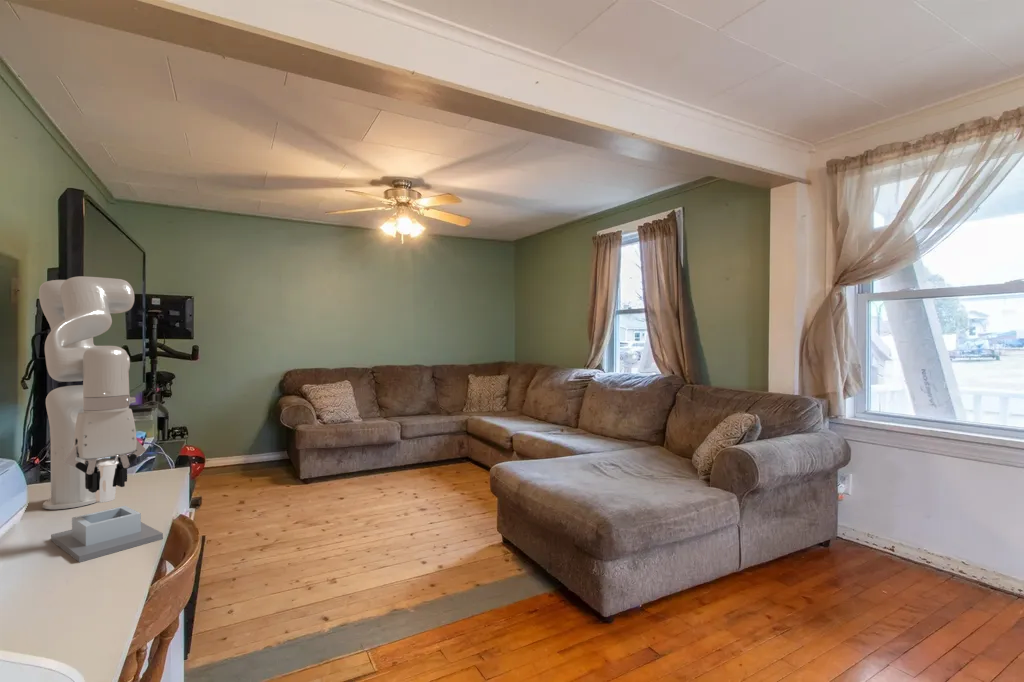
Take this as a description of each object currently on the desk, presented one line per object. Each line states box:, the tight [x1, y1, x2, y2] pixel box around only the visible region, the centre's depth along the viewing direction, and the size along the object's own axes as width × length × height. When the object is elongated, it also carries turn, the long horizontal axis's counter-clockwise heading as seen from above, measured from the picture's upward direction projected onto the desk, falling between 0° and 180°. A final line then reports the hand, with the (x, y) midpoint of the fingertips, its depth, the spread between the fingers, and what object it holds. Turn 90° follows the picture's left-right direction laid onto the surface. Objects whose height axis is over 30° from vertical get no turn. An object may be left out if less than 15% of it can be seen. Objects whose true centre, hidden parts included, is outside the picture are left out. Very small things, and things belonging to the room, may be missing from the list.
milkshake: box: [94, 455, 119, 504], centre depth 107 cm, size 4×5×10 cm
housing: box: [50, 505, 164, 563], centre depth 107 cm, size 20×14×5 cm
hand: (106, 487), depth 107 cm, fingers closed on milkshake, 4 cm apart
